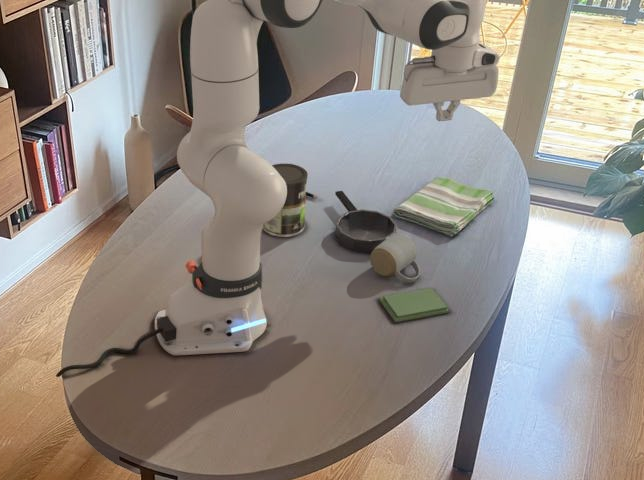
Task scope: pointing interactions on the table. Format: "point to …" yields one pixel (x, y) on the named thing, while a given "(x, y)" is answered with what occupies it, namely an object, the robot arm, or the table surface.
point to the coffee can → (290, 203)
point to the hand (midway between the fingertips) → (443, 119)
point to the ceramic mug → (395, 257)
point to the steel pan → (362, 227)
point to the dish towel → (444, 205)
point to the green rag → (413, 305)
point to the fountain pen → (310, 195)
